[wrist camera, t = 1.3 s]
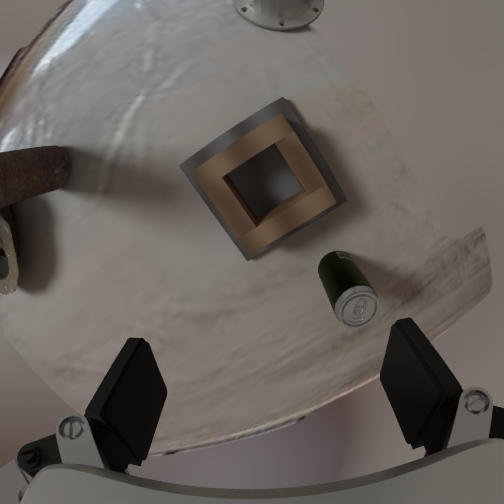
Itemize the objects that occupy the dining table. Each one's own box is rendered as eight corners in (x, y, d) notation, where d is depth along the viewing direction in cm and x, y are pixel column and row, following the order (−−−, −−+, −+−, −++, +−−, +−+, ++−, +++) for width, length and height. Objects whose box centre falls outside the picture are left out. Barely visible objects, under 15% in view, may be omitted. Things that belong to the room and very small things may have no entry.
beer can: (321, 246, 38) (343, 288, 27) (355, 251, 38) (387, 291, 27) (313, 280, 40) (331, 329, 29) (346, 283, 40) (372, 330, 29)
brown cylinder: (64, 135, 32) (-34, 146, 14) (80, 172, 35) (-18, 203, 16) (38, 161, 34) (-51, 185, 15) (53, 196, 36) (-36, 235, 18)
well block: (282, 98, 31) (286, 89, 26) (345, 199, 36) (358, 208, 31) (181, 165, 35) (168, 168, 29) (247, 258, 39) (246, 275, 34)
